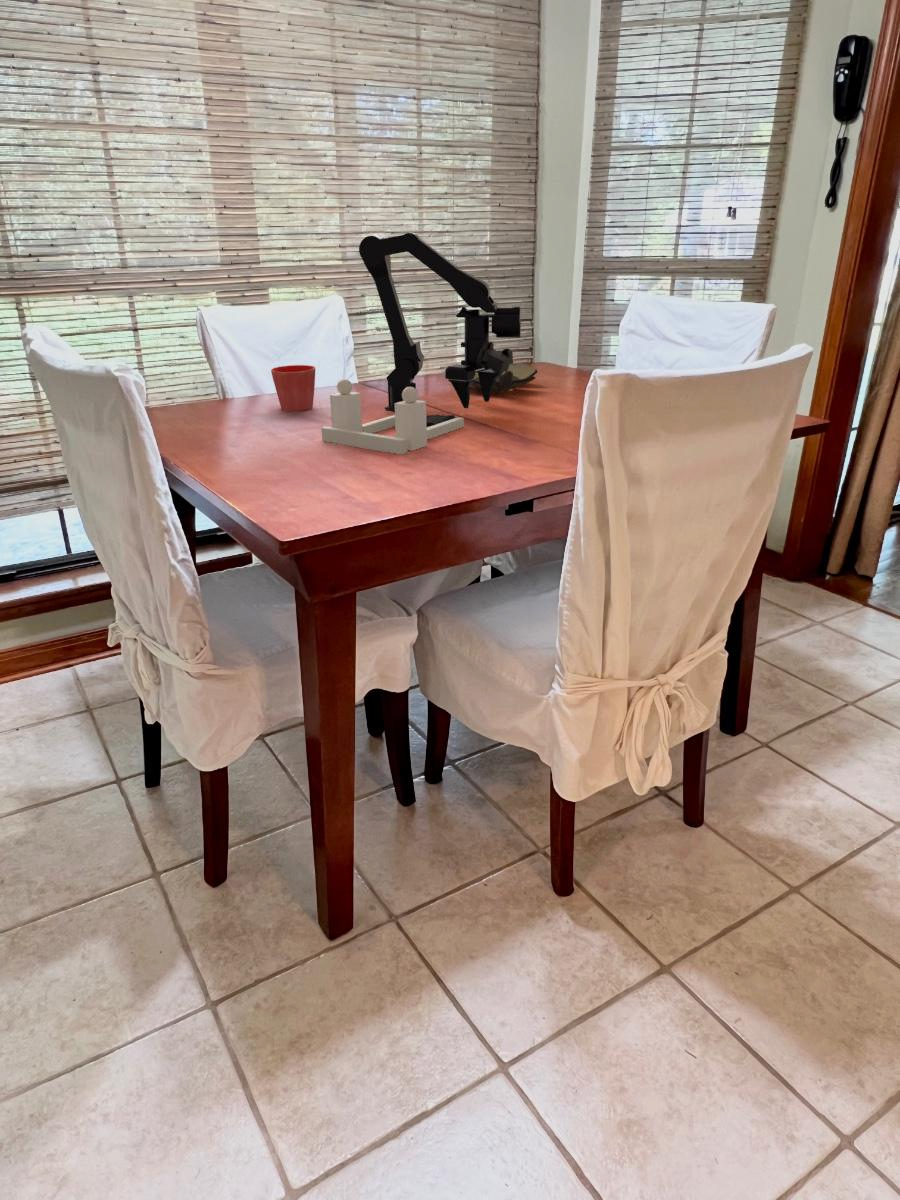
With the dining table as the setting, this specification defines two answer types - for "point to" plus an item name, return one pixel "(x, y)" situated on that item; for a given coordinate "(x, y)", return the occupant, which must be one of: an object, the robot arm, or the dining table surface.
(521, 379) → the oil lamp
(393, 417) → the twin knob post frame
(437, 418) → the wood
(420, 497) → the dining table surface
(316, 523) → the dining table surface
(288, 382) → the flower pot
